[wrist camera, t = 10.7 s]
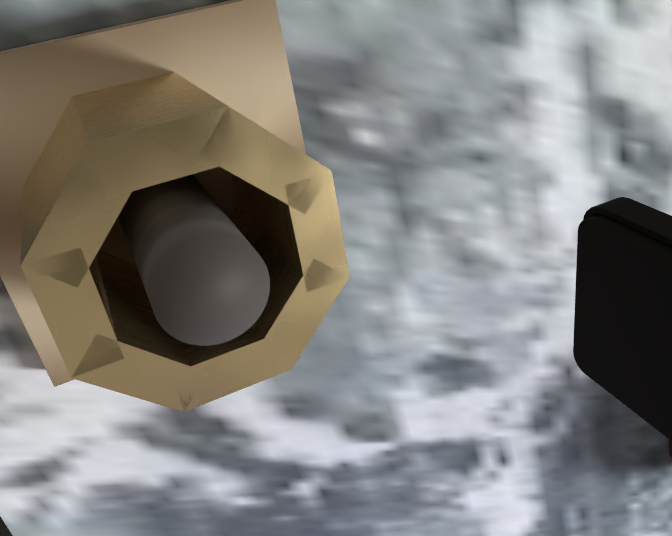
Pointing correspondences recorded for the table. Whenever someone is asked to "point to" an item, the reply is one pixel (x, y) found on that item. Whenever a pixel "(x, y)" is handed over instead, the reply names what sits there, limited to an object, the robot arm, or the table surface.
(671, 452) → the muffin
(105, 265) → the brass ring
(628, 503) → the table surface
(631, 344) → the robot arm
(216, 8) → the post stand
